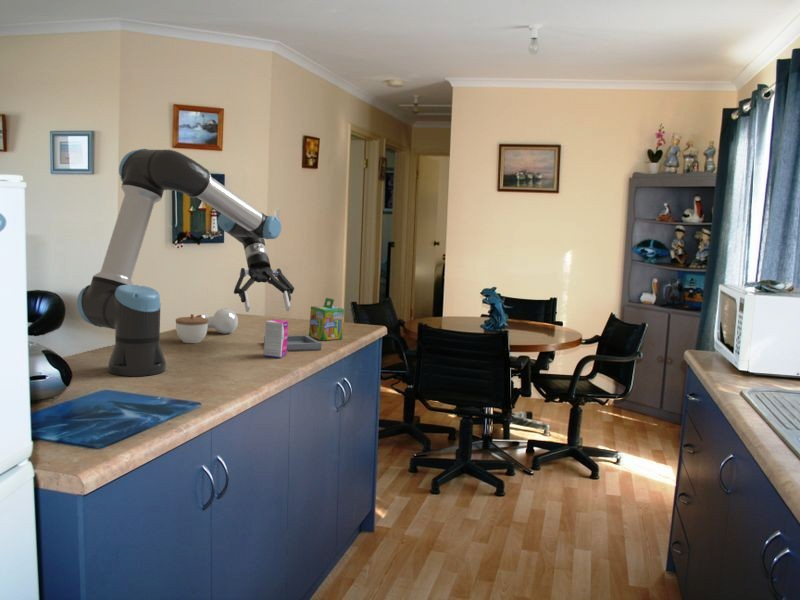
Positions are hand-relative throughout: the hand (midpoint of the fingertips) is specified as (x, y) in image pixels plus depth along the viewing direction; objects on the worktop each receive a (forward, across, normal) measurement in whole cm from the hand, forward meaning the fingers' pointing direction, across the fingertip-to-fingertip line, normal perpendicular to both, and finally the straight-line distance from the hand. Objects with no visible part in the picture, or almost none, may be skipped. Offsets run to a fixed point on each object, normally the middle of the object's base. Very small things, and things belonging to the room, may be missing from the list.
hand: (268, 309), depth 240 cm
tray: (+7, +10, +13) cm, 18 cm away
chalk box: (-2, +27, +22) cm, 35 cm away
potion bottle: (-14, -9, +34) cm, 38 cm away
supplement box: (+17, 0, +3) cm, 17 cm away
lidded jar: (-4, -21, +24) cm, 32 cm away
